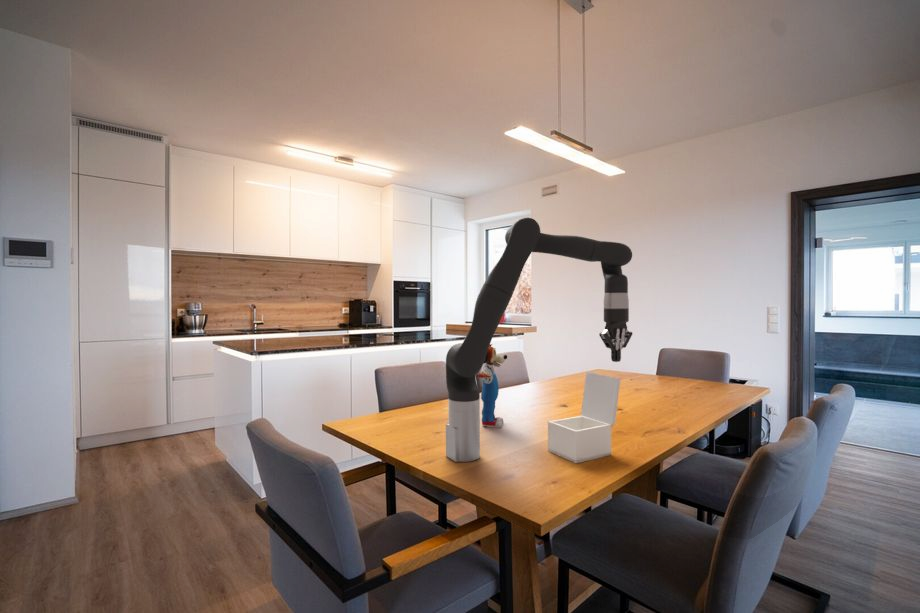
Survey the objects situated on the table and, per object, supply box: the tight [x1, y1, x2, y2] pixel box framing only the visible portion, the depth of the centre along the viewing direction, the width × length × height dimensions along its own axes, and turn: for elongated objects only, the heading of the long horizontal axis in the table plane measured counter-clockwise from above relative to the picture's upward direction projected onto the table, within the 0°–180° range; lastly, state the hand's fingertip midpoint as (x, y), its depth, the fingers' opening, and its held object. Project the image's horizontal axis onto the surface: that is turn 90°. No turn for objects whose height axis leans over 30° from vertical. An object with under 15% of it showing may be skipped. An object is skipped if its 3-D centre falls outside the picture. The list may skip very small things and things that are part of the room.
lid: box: [580, 372, 621, 426], centre depth 134 cm, size 14×13×1 cm
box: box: [547, 415, 612, 464], centre depth 130 cm, size 14×12×9 cm
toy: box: [476, 343, 508, 428], centre depth 160 cm, size 34×10×30 cm, turn 168°
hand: (616, 361), depth 137 cm, fingers closed
